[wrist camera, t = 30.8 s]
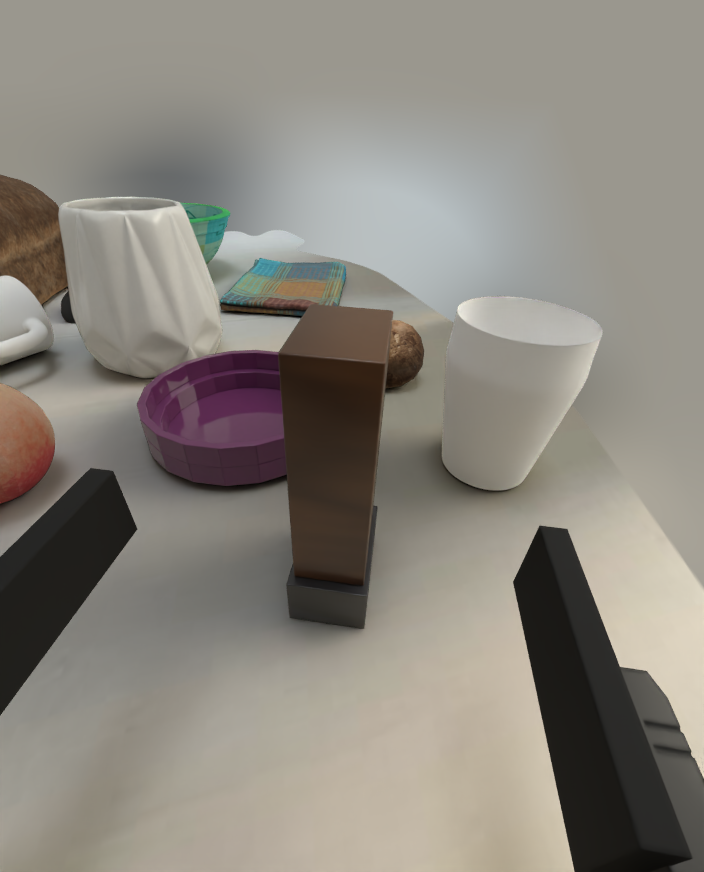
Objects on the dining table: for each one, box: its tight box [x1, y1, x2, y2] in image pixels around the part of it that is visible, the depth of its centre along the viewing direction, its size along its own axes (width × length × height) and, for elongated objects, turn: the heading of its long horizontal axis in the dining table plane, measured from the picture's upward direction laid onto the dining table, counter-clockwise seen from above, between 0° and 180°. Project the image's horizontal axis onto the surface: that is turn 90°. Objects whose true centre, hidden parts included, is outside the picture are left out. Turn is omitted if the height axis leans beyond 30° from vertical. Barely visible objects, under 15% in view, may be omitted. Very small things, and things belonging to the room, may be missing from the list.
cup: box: [442, 296, 603, 490], centre depth 29 cm, size 9×9×12 cm
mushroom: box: [385, 320, 424, 388], centre depth 42 cm, size 8×8×6 cm
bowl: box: [181, 203, 230, 264], centre depth 70 cm, size 22×22×10 cm
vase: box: [58, 197, 223, 378], centre depth 41 cm, size 14×14×15 cm
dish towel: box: [220, 258, 346, 316], centre depth 66 cm, size 17×23×2 cm
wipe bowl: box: [137, 350, 287, 486], centre depth 34 cm, size 15×15×4 cm
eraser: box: [278, 304, 393, 628], centre depth 19 cm, size 4×6×15 cm, turn 173°
